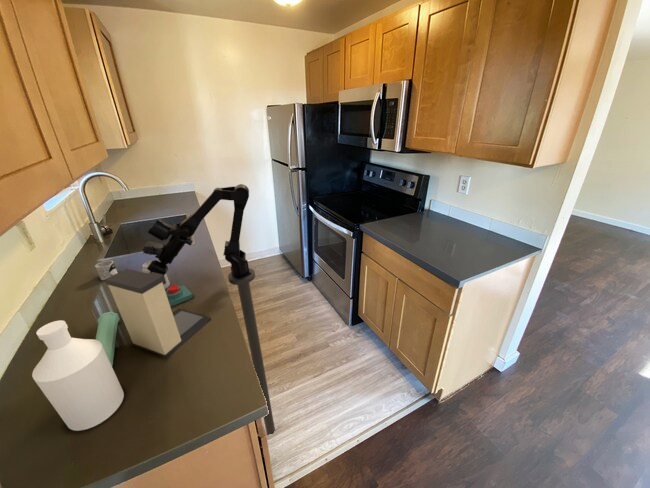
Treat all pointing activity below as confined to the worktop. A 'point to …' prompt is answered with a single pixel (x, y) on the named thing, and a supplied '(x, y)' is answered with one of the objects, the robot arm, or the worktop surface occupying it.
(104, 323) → the container
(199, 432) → the worktop surface
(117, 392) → the bottle
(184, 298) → the control block
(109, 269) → the mug
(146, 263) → the can
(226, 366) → the worktop surface
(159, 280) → the coffee maker
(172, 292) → the button
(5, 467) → the worktop surface
